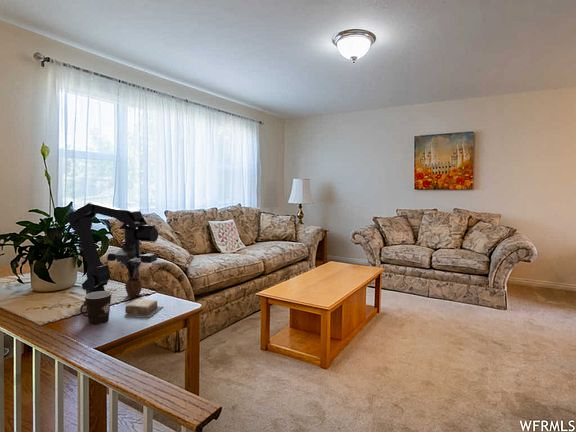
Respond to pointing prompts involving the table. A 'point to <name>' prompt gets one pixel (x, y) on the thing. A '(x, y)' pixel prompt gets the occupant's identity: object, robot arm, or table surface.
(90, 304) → the coffee mug
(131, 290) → the wooden figurine
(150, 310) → the wooden block
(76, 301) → the table surface
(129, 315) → the rubber mat
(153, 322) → the table surface
